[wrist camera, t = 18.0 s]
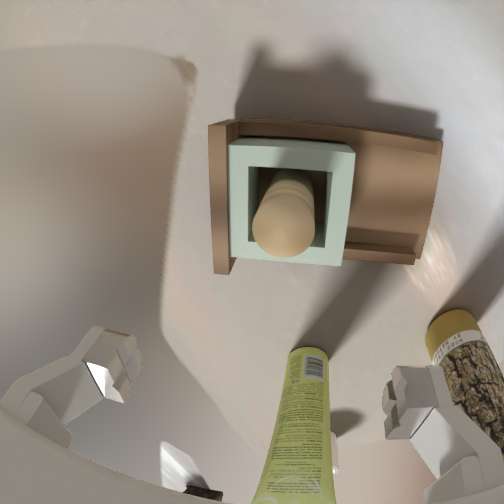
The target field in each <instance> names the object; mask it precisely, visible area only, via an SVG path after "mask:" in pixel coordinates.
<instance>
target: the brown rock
mask: <svg viewBox="0 0 504 504" xmlns="http://www.w3.org/2000/svg"><path fill="white" fill-rule="evenodd" d="M186 487H187V489H186V490H185V491H184V492H182V493H185V494H189V495H193V496H197V497H201V498H206V499H210V500H215V501H220V502H221V500H222V496H223V492H221V491H215V490H209V489H203V488H198V487H194V486H188V485H186Z"/></svg>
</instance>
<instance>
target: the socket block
mask: <svg viewBox="0 0 504 504" xmlns="http://www.w3.org/2000/svg"><path fill="white" fill-rule="evenodd" d="M354 165H355V152H354V151H353V150H352V149H351V148H350V147H349V146H348V144H347V143H342V142H332V141H321V140H309V139H295V138H277V137H252V136H242V137H240V138H238V139H237V140H235V141H234V142H232V143H230V144H229V145H228V210H229V251H230V257H239V258H251V259H262V260H273V261H284V262H296V263H308V264H319V265H331V266H341V263H342V257H343V250H344V244H345V237H346V231H347V223H348V216H349V209H350V201H351V192H352V184H353V174H354ZM259 167H275V168H291V169H304V170H317V171H327V176H326V187H325V198H324V209H323V219H322V222H320V221H315V234H314V238H313V241H312V243H311V244H310V246H309V247H308V248H307V249H306V250H305V251H304V252H303V253H301V254H299V255H297V256H294V257H289V258H280V257H275V256H272V255H270V254H268V253H266V252H265V251H264V250H262V249H261V248H260V247H259V245H258V244H257V242H256V241H255V239H254V236H253V232H252V224H253V219H254V217H255V215H256V213H257V210H258V185H259Z"/></svg>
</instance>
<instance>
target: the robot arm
mask: <svg viewBox="0 0 504 504" xmlns="http://www.w3.org/2000/svg"><path fill="white" fill-rule="evenodd" d="M136 345H137V340H136V338H135V336H133V335H130V334H126V333H122V332H119V331H115V330H111V329H107V328H103V327H99V326H94V327H92V328H91V329H90V330H89V332H88V333H87V334H86V336H85V337H84V338H83V339H82V341H81V342H80V343H79V345H78V346H77V347H76V349H75V350H74V351H73V353H72V354H71V355H70V357H69V356H64V357H62V358H61V359H58V360H56V361H54V362H52V363H50V364H48V365H46V366H44V367H42V368H40V369H38V370H36V371H34V372H32V373H30V374H27V375H26V376H23V377H21V378H19V379H17V380H15V381H14V383H13V384H12V386H11V387H10V388H9V389H8V391H7V392H6V394H5V395H4V396H3V398H2V399H1V400H0V504H231V503H225V502H220V501H215V500H210V499H206V498H201V497H197V496H193V495H189V494H185V493H181V492H178V491H174V490H171V489H167V488H164V487H161V486H157V485H154V484H151V483H148V482H145V481H142V480H139V479H136V478H133V477H131V476H128V475H126V474H123V473H120V472H118V471H115V470H113V469H110V468H108V467H105V466H103V465H101V464H98V463H96V462H94V461H92V460H89V459H87V458H85V457H83V456H81V455H79V454H77V453H75V452H72V451H70V450H69V449H67V448H68V446H69V445H70V443H71V441H72V439H73V436H72V434H71V432H70V431H69V430H68V429H67V428H66V426H65V425H66V424H67V423H69V422H70V421H72V420H73V419H75V418H76V417H77V416H79V415H80V414H82V413H83V412H85V411H86V410H87V409H89V408H90V407H92V406H93V405H95V404H96V403H97V402H99V401H100V400H102V399H103V397H105V398H109V399H112V400H115V401H118V402H122V403H125V401H126V399H127V398H128V396H129V394H130V392H131V390H132V386H131V382H132V381H134V380H136V379H138V377H139V375H140V373H141V369H142V365H143V362H142V355H141V353H140V352H139V351H138V350H137V349H136ZM391 375H392V380H390V381H389V382H387V384H386V386H385V388H384V392H383V397H382V407H383V411H384V412H385V413H386V415H387V418H386V420H385V421H384V427H385V438H386V440H394V439H410V441H411V443H412V444H413V446H414V447H415V448H416V450H417V451H418V453H419V454H420V456H421V457H422V458H423V460H424V461H425V462H426V464H427V466H428V467H429V468H430V470H431V471H432V473H433V474H434V475H435V477H436V478H437V480H436V481H435V482H434V483H432V484H431V485H430V486H428V487H427V488H426V489H425V490H424V491H423V492H424V504H504V461H503V457H502V453H501V449H500V447H499V446H498V445H497V444H496V443H495V442H494V441H493V440H492V439H491V438H490V437H489V436H488V435H487V434H486V433H485V432H484V431H483V430H482V429H481V428H480V427H479V426H478V425H476V424H475V423H474V422H473V421H472V420H471V419H470V418H469V417H468V416H467V415H466V414H465V413H464V412H463V411H462V410H461V409H460V408H459V407H458V406H453V402H452V399H451V395H450V392H449V388H448V385H447V382H446V379H445V375H444V372H443V369H442V367H441V366H440V365H432V366H424V365H422V366H396V367H395V368H394V369H393V371H392V373H391Z"/></svg>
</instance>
